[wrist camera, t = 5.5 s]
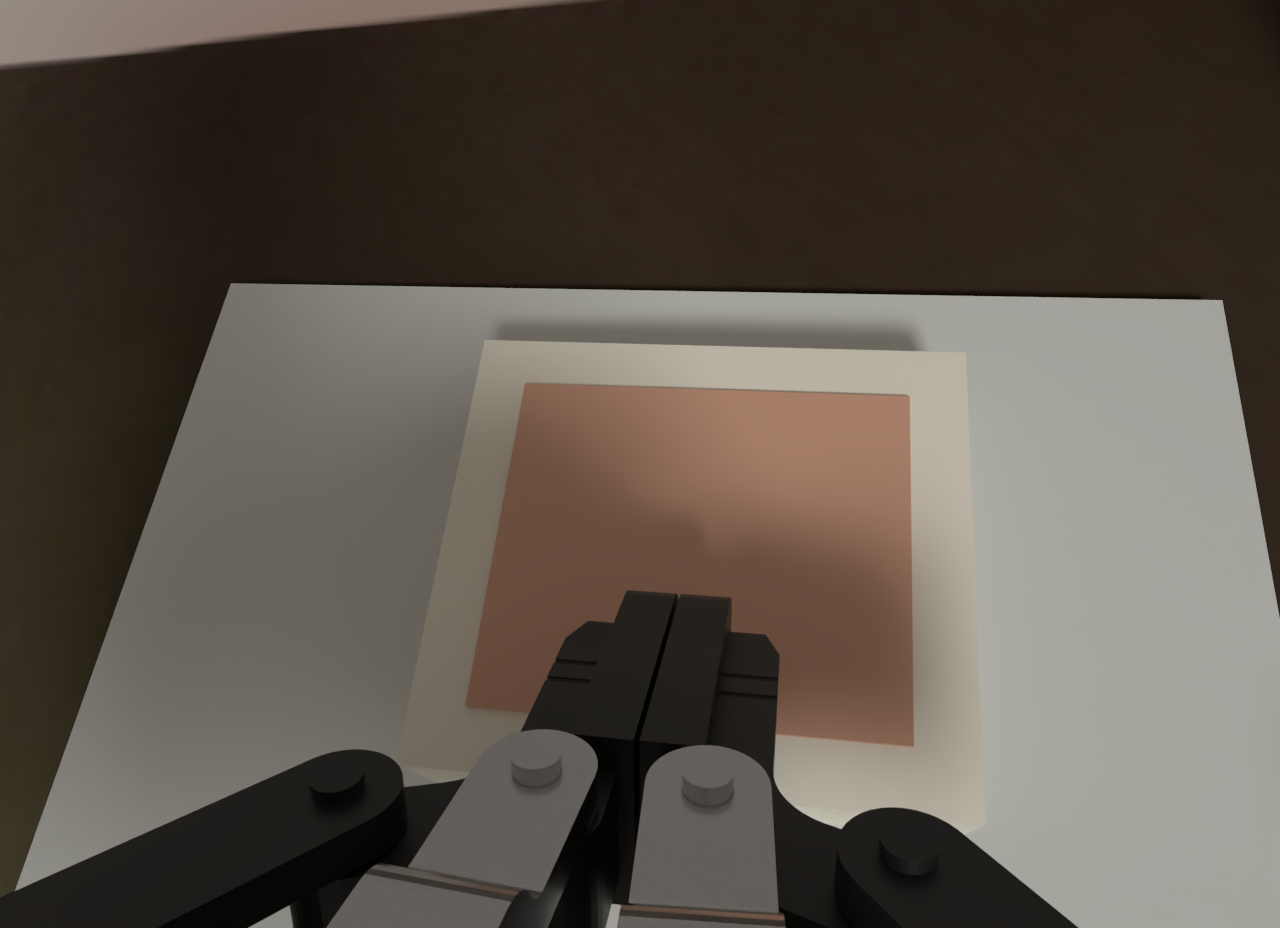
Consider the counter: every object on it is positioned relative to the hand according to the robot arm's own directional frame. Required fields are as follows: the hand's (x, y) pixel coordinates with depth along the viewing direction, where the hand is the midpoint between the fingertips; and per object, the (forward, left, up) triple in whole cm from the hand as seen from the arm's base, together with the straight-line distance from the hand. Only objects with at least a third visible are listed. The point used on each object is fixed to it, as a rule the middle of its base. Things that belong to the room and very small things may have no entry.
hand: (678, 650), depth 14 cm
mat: (-1, +2, -4) cm, 5 cm away
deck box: (0, -2, -3) cm, 3 cm away
